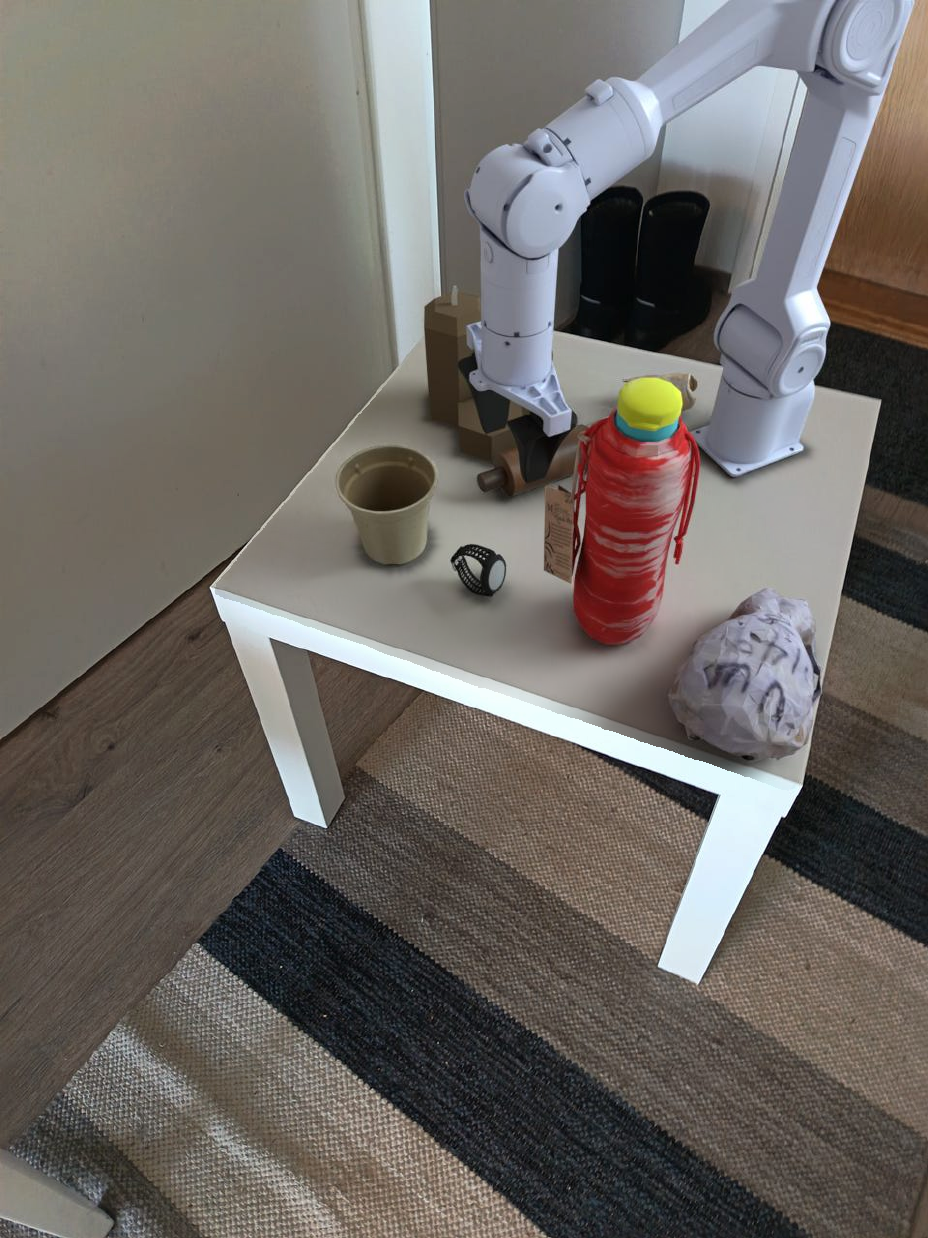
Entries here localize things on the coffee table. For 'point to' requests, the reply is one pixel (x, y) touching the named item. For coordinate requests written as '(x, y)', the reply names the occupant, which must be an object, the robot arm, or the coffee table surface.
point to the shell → (678, 386)
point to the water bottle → (624, 511)
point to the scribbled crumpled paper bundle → (752, 680)
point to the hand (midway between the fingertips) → (513, 452)
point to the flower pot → (389, 499)
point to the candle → (459, 375)
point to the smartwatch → (490, 572)
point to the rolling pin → (510, 474)
